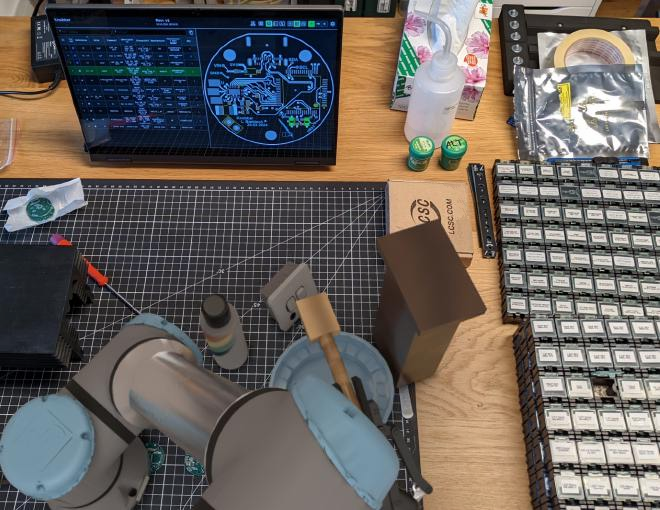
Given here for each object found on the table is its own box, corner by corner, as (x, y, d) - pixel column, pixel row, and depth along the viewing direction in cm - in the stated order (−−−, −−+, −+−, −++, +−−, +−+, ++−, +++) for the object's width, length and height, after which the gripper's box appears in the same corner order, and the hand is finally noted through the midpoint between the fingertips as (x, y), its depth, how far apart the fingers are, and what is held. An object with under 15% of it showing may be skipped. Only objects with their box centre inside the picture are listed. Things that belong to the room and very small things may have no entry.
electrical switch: (285, 334, 106) (278, 308, 98) (263, 317, 108) (254, 291, 100) (319, 295, 110) (315, 268, 102) (297, 280, 112) (291, 252, 104)
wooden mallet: (353, 462, 77) (354, 458, 75) (296, 307, 87) (295, 301, 86) (386, 449, 78) (387, 446, 76) (325, 297, 88) (325, 291, 87)
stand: (394, 402, 100) (420, 332, 74) (362, 327, 107) (376, 237, 81) (444, 384, 102) (487, 309, 76) (410, 311, 108) (438, 218, 82)
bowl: (293, 479, 94) (291, 472, 89) (256, 365, 103) (253, 352, 98) (409, 435, 98) (413, 426, 93) (364, 329, 107) (366, 315, 101)
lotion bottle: (231, 331, 106) (213, 278, 89) (255, 351, 104) (242, 301, 87) (207, 356, 104) (184, 306, 86) (232, 377, 102) (213, 330, 85)
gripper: (339, 565, 82) (286, 395, 81) (442, 522, 84) (392, 358, 83) (351, 594, 74) (293, 408, 73) (464, 547, 77) (409, 367, 76)
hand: (346, 382), depth 78 cm, fingers closed on wooden mallet, 2 cm apart
